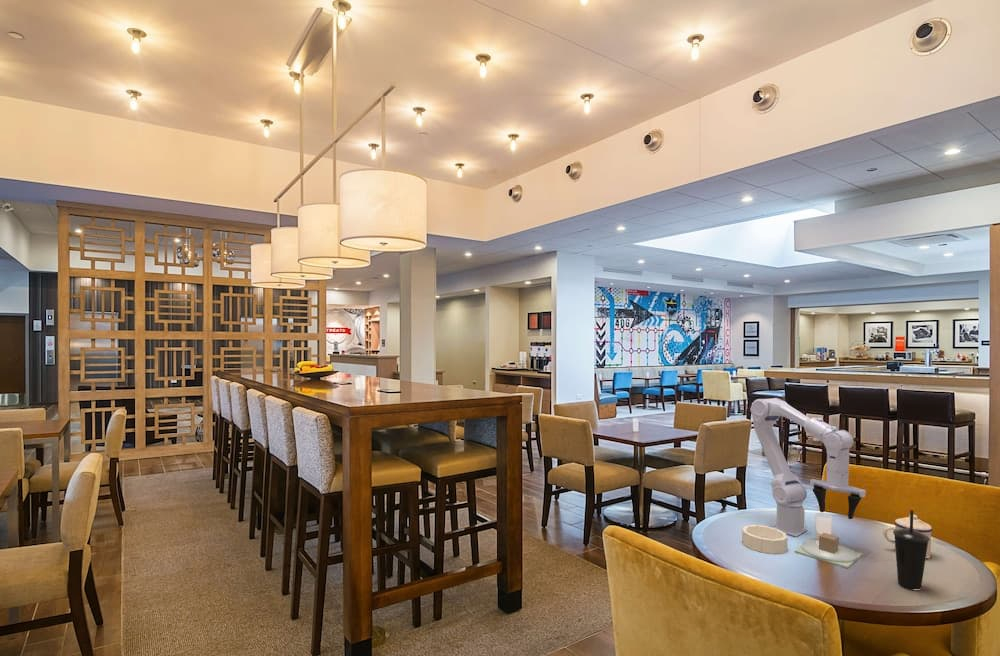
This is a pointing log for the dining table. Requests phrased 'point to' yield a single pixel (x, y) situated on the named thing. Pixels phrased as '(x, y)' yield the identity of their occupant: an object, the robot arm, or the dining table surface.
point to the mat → (846, 565)
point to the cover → (829, 549)
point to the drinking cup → (910, 555)
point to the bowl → (764, 539)
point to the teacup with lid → (917, 525)
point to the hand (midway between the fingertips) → (836, 514)
